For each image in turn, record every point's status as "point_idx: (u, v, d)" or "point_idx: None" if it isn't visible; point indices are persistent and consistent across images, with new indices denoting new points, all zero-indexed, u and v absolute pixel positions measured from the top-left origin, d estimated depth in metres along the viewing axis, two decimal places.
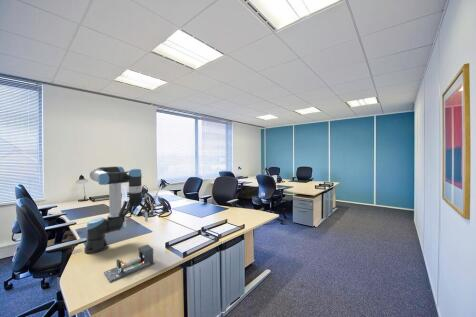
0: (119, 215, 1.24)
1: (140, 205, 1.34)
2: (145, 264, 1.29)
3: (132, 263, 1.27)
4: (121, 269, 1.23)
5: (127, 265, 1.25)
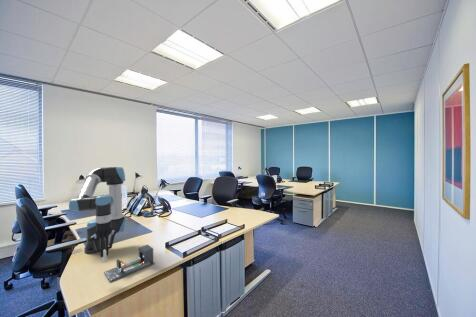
0: (97, 251, 1.14)
1: (105, 238, 1.17)
2: (145, 264, 1.29)
3: (132, 263, 1.27)
4: (121, 269, 1.23)
5: (127, 265, 1.25)
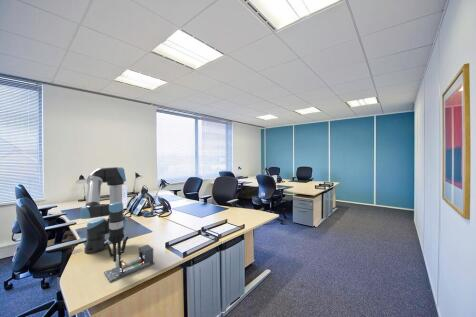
0: None
1: (118, 243, 1.22)
2: (145, 264, 1.29)
3: (133, 263, 1.28)
4: (122, 269, 1.23)
5: (128, 265, 1.25)
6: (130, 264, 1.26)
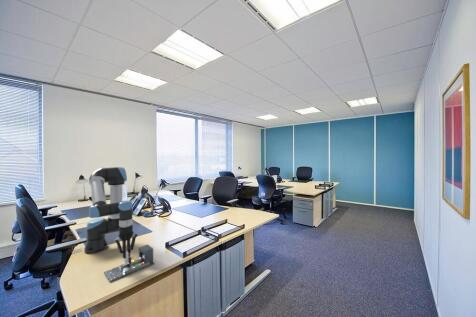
0: None
1: (127, 240, 1.26)
2: (145, 264, 1.29)
3: (141, 259, 1.31)
4: (131, 265, 1.27)
5: (137, 261, 1.29)
6: (139, 261, 1.30)
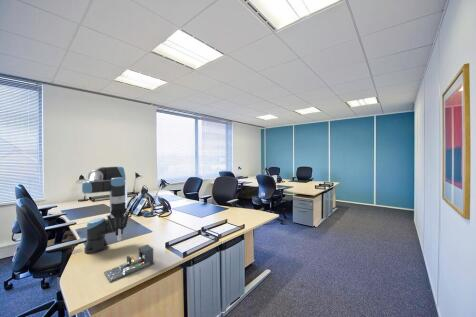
0: (112, 229, 1.20)
1: (120, 217, 1.24)
2: (145, 264, 1.29)
3: (141, 259, 1.32)
4: (131, 265, 1.27)
5: (137, 261, 1.29)
6: (139, 261, 1.30)
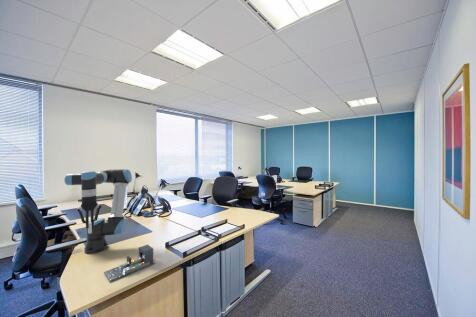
0: None
1: (90, 211, 1.25)
2: (145, 264, 1.29)
3: (141, 259, 1.32)
4: (131, 265, 1.27)
5: (137, 261, 1.29)
6: (139, 261, 1.30)
